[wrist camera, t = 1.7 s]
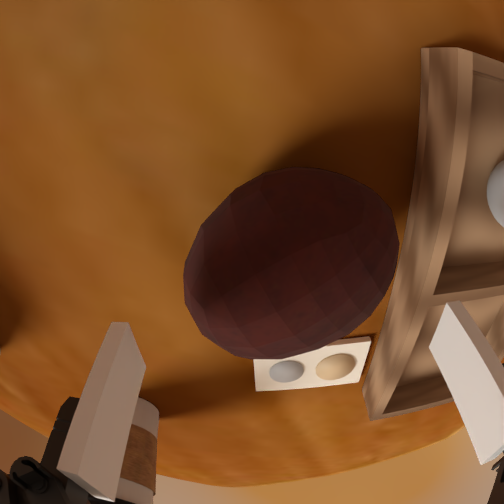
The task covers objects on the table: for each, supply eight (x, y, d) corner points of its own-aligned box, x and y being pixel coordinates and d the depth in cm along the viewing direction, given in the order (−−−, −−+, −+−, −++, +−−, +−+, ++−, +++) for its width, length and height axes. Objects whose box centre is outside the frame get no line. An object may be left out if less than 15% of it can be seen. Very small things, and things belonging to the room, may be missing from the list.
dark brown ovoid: (384, 227, 20) (449, 321, 13) (238, 308, 24) (235, 417, 16) (324, 113, 17) (391, 154, 9) (159, 221, 20) (111, 322, 12)
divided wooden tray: (420, 47, 14) (458, 47, 11) (552, 92, 14) (586, 103, 10) (361, 389, 30) (370, 420, 27) (466, 367, 30) (479, 392, 27)
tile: (252, 345, 26) (252, 352, 25) (369, 336, 26) (371, 342, 25) (255, 386, 29) (255, 392, 28) (357, 377, 29) (359, 383, 28)
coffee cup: (180, 405, 31) (164, 535, 18) (158, 431, 35) (143, 537, 22) (105, 377, 29) (69, 507, 16) (95, 408, 33) (68, 514, 20)
